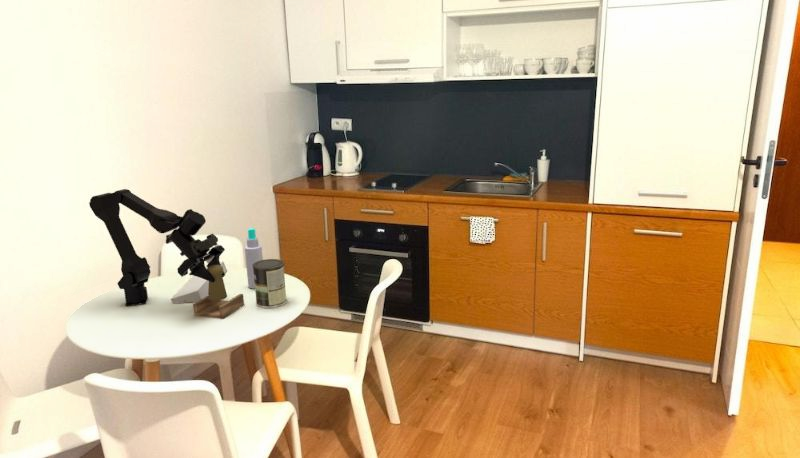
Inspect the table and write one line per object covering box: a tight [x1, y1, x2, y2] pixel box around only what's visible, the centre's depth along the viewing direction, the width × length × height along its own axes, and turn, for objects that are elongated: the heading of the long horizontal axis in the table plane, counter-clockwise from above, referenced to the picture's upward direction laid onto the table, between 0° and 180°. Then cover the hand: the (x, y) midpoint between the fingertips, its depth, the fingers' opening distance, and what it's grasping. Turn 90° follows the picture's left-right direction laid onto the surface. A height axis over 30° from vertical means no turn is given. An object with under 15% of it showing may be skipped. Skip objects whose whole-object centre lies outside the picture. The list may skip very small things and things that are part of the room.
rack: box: [192, 293, 245, 320], centre depth 187 cm, size 11×12×4 cm
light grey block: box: [170, 261, 228, 304], centre depth 211 cm, size 34×5×10 cm
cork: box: [207, 265, 228, 301], centre depth 185 cm, size 6×6×11 cm
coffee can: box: [252, 258, 288, 309], centre depth 191 cm, size 10×10×14 cm
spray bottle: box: [244, 227, 264, 290], centre depth 206 cm, size 6×6×22 cm
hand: (219, 278), depth 184 cm, fingers closed on cork, 5 cm apart
